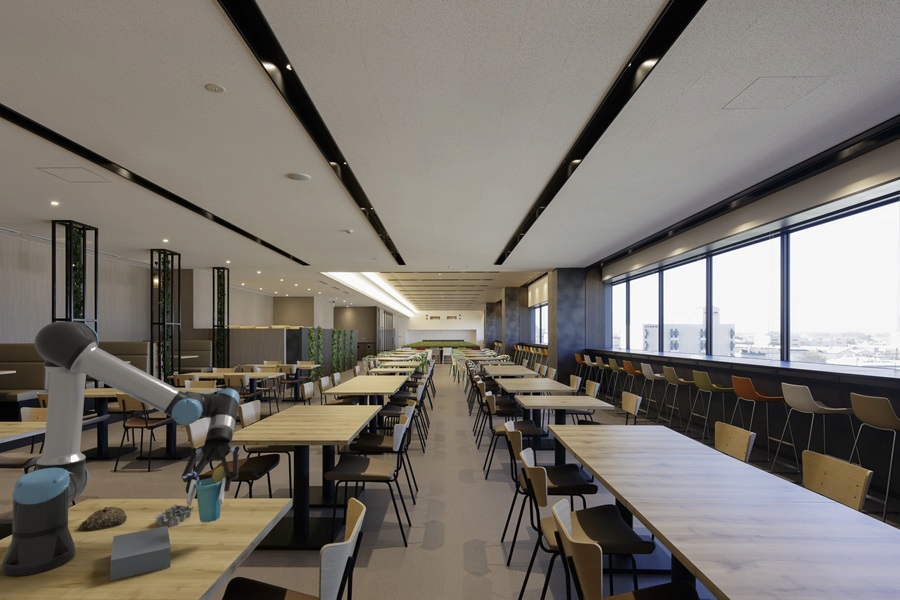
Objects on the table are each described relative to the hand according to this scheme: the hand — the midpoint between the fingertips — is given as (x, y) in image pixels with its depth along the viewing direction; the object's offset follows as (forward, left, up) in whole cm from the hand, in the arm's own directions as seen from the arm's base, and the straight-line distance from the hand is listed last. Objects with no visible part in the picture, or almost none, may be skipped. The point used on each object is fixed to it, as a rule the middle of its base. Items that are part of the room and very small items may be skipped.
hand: (204, 502), depth 141 cm
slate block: (-15, +2, -13) cm, 20 cm away
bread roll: (-25, +40, -14) cm, 49 cm away
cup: (+1, +3, -6) cm, 7 cm away
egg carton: (-6, +30, -14) cm, 33 cm away
